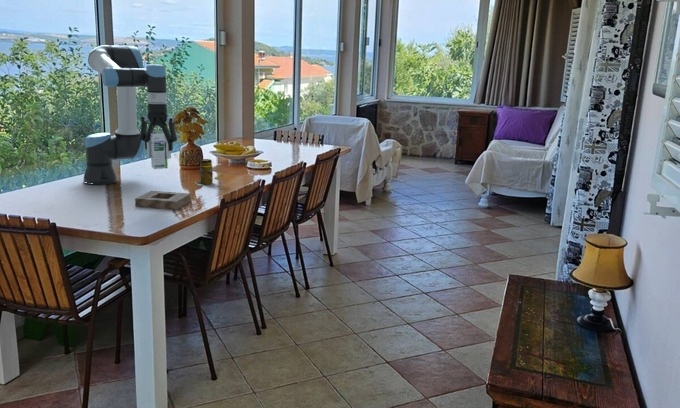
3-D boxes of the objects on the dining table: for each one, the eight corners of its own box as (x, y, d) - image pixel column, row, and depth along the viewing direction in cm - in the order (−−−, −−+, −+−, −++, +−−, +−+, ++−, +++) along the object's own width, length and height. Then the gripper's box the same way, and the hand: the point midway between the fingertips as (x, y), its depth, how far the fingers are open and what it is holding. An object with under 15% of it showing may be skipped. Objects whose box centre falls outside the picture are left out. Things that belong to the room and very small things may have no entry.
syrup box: (153, 169, 246) (152, 134, 243) (151, 166, 251) (149, 132, 248) (167, 168, 249) (166, 134, 245) (165, 166, 254) (163, 132, 250)
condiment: (215, 184, 294) (215, 160, 291) (199, 185, 290) (198, 161, 287) (210, 181, 300) (209, 158, 297) (193, 182, 296) (193, 159, 293)
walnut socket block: (135, 206, 248) (135, 198, 247) (151, 198, 262) (151, 190, 261) (176, 209, 245) (176, 201, 245) (190, 201, 260) (190, 193, 259)
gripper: (129, 102, 241) (131, 157, 247) (177, 104, 238) (178, 160, 244) (138, 101, 249) (140, 155, 254) (184, 103, 246) (186, 158, 251)
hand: (159, 157), depth 249 cm, fingers closed on syrup box, 8 cm apart
